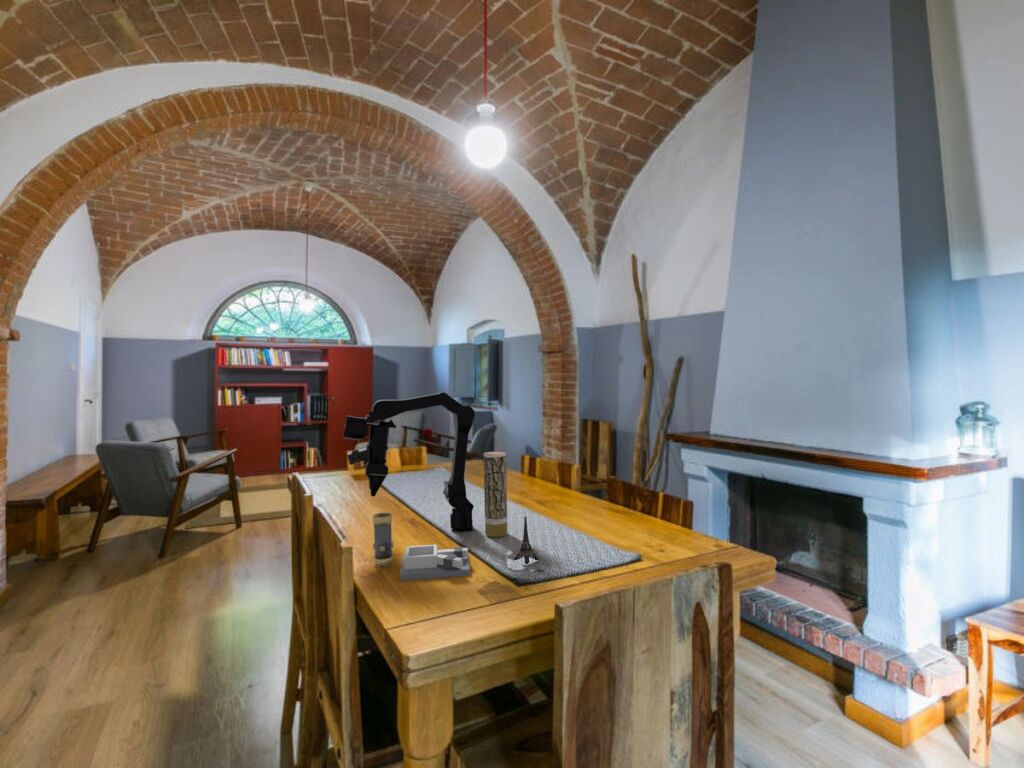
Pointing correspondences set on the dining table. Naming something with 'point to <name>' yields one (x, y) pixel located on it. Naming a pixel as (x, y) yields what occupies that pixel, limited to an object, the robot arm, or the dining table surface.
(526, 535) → the eiffel tower figurine
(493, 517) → the brown textured cylinder
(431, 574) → the shaft stand
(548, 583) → the dining table surface
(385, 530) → the coupling
